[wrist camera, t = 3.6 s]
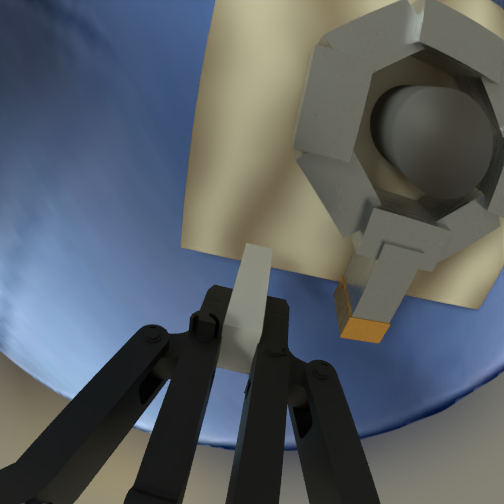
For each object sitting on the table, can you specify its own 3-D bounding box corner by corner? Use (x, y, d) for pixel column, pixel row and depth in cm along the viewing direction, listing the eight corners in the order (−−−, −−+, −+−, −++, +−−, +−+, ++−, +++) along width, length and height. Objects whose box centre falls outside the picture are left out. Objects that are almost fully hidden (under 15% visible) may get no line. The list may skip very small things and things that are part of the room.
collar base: (186, 237, 22) (153, 292, 16) (240, -71, 11) (219, -122, 5) (471, 298, 22) (501, 352, 16) (553, 60, 11) (609, 69, 5)
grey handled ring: (323, -13, 11) (333, -40, 8) (517, 75, 11) (558, 82, 8) (258, 278, 21) (251, 320, 17) (427, 312, 21) (443, 351, 17)
